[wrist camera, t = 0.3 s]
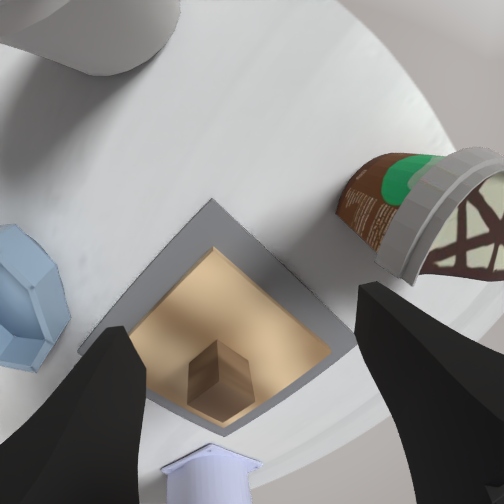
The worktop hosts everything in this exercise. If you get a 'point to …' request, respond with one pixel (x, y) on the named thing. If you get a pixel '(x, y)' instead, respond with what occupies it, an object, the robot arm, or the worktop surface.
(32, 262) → the bowl
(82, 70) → the can
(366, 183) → the food container
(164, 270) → the mat
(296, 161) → the worktop surface
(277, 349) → the lid
